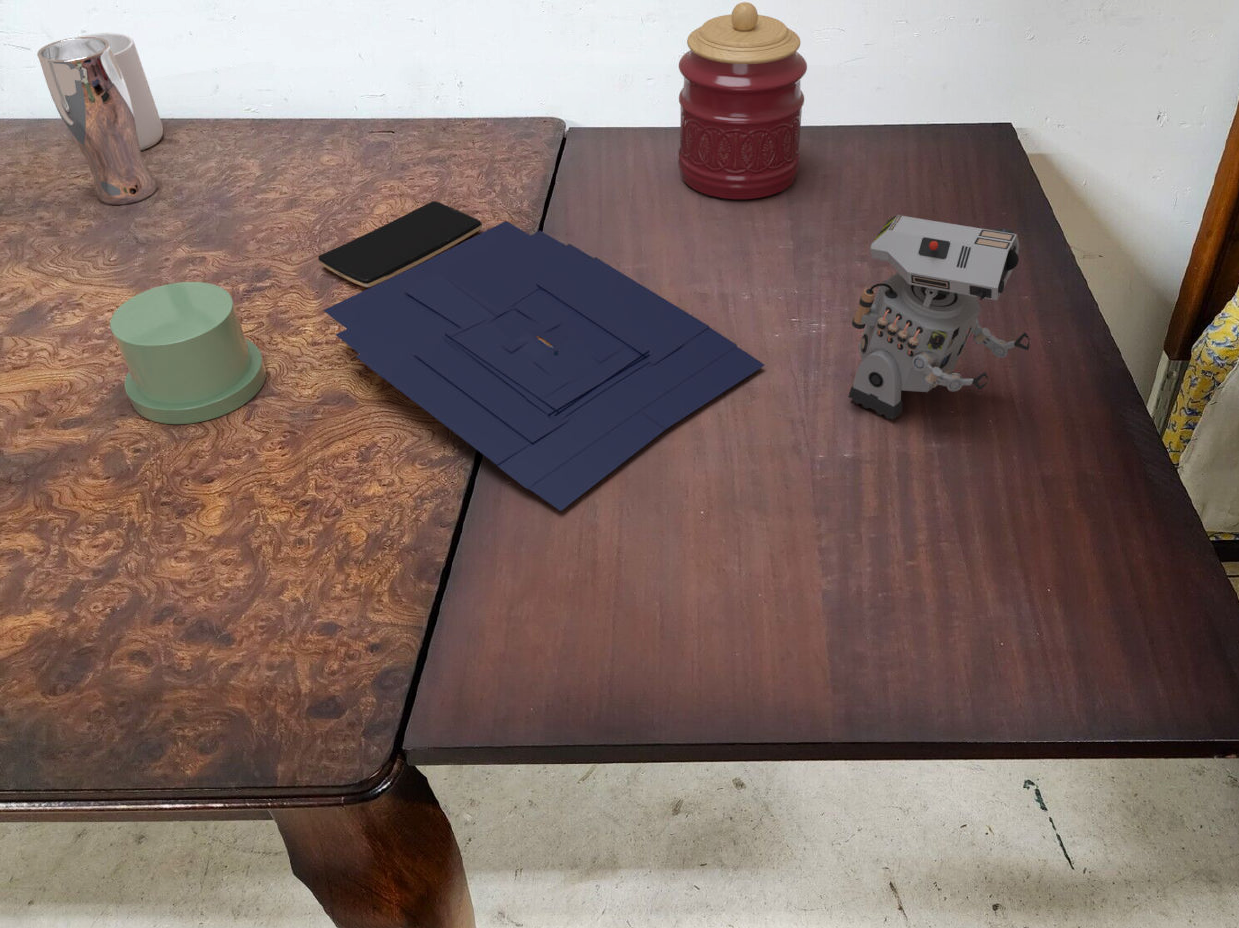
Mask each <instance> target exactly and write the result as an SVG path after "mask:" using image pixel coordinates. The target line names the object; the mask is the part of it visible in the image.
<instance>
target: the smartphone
mask: <svg viewBox="0 0 1239 928" xmlns="http://www.w3.org/2000/svg"><path fill="white" fill-rule="evenodd" d="M482 228H483V223H482V221H480V220H479V219H477V218H476V217H473V216H471V215H469V214H467V213H465V212H462V211H460V210H458V209H456V208H453V207H452V206H448V205H446V204H444V203H442V202H440V201H435V200H433V201H430V202H427V203H425V204H424V205H422V206H420V207H418V208H416V209H414V210H412V211H410V212H408V213H406V214H404V215H401V216H400V217H398V218H396V219H394V220H392V221H389V222H388V223H386V224H384V225H382V226H379V227H378V228H376V229H374V230H371V231H369V232H368V233H365V234H363V235H361V236H359V237H357V238H355V239H353V240H350V241H349V242H346V243H344V244H342V245H340V246H337V247H336V248H333V249H331V250H329V251H327V252H324V253H322V254H320V255H318V262H319V264H320V265H321V266H322V267H324V268H325V269H327V270H329V271H330V272H332V273H334V274H336V275H338V276H339V277H341V278H343V279H345V280H347V281H349V282H351V283H353V284H356V285H359V286H361V287H363V288H371V287H373V286H375V285H377V284H379V283H381V282H383V281H386V280H388V279H390V278H392V277H394V276H396V275H398V274H400V273H402V272H404V271H407V270H409V269H411V268H413V267H415V266H417V265H419V264H421V263H423V262H425V261H427V260H429V259H431V258H433V257H435V256H437V255H439V254H441V253H443V252H445V251H447V250H449V249H451V248H452V247H454V246H456V245H458V243H459V244H460V242H462V241H464V240H466V239H467V238H469V237H471V236H473V235H474V234H476V233H477V232H479V231H480V230H482Z"/></svg>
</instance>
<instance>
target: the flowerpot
mask: <svg viewBox="0 0 1239 928" xmlns="http://www.w3.org/2000/svg"><path fill="white" fill-rule="evenodd" d="M109 321H110V322H109V327H110V331H111V334H112V336H113V338H114V340H115V343H116V345H117V348H118V349H119V352H120V354H121V356H122V360H123V361H124V364H125V366H126V368H127V370H128V371H127V373H126V375H125V379H124V390H125V393H126V395H127V398H128V400H129V403H130V404H131V406H132V408H133V409H134V411H135V412H136V413H137V414H138V415H139V416H141V417H143V418H145V419H146V420H149V421H151V422H155V423H160V424H166V425H190V424H196V423H202V422H206V421H210V420H214V419H217V418H220V417H222V416H225V415H228V414H230V413H231V412H234V411H236V410H237V409H239V408H241V407H243V406H244V405H246V404H247V403H249V402H250V401H251V400H253V398H254V397H256V395H257V394H258V393H259V392H260V391H261V389H262V388H263V387H264V385H265V382H266V379H267V367H266V363H265V360H264V358H263V355H262V352H261V350H260V348H259V347H258V346H257V344H255V343H254V342H252V341H251V340H249V339H247V338H246V336H245V335H246V334H245V332H244V329H243V326H242V323H241V320H240V318H239V314H238V312H237V307H236V305H235V302H234V300H233V297H232V295H231V294H230V293H229V291H228V290H226V289H224V288H223V287H221V286H219V285H217V284H213V283H209V282H203V281H179V282H175V283H174V282H172V283H167V284H163V285H159V286H155V287H153V288H149V289H147V290H144V291H142V292H140V293H138V294H136V295H134V296H132V297H131V298H129V299H127V300H126V301H125V302H123V303H122V304H121V305H119V307H118V308H117V309H116V310H114V313H113V314H112V316H111V317H110V320H109Z"/></svg>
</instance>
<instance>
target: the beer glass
mask: <svg viewBox="0 0 1239 928" xmlns="http://www.w3.org/2000/svg"><path fill="white" fill-rule="evenodd" d="M76 37H77V38H74V37H69V38H64V39H60V40H57V41H53V42H50V43H48V44H46V45H44V46H42V47H41V48H39V50H38V51H37V53H36V54H37V55H36V56H37V58H38V60H39V64H40V67H41V69H42V73H43V76H44V79H45V83H46V86H47V89H48V91H49V94H50V96H51V98H52V101H53V104H54V106H55V108H56V111H57V112H58V114H59V116H60V118H61V120H62V121H63V123H64V125H65V127H66V128H67V130H68V131H69V133H70V135H71V137H72V138H73V140H74V141H75V143H76V145H77V146H78V148H79V150H80V151H81V154H82V155H83V157H84V158H85V161H86V163H87V165H88V167H89V170H90V172H91V176H92V181H93V186H94V191H95V195H96V199H98V201H100V202H101V203H103V204H106V205H112V206H114V205H115V206H119V205H120V206H122V205H129V204H134V203H138V202H140V201H143V200H145V199H147V198H149V197H151V196H152V195H153V194H154V193H155V192H156V191H157V188H158V184H157V181H156V179H155V178H154V176H153V175H152V172H151V171H150V169H149V167H148V166H147V164H146V161H145V160H144V157H143V154H142V151H141V150H140V147H139V142H138V137H137V131H136V124H135V119H134V113H133V108H132V104H131V99H130V96H129V93H128V89H127V86H126V83H125V81H124V78H123V76H122V73H121V71H120V68H119V66H118V64H117V61H116V59H115V57H114V55H113V53H112V50H111V48H110V46H109V43H108V41H106V40H104V39H101V38H97V37H78V36H76Z"/></svg>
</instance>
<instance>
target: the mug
mask: <svg viewBox="0 0 1239 928" xmlns="http://www.w3.org/2000/svg"><path fill="white" fill-rule="evenodd" d="M77 37H97V38H101V39H104V40H106V41H108V43H109V46H110V48H111V50H112V53H113V55H114V57H115V59H116V61H117V64H118V66H119V68H120V71H121V73H122V76H123V78H124V81H125V83H126V86H127V89H128V93H129V96H130V99H131V104H132V108H133V113H134V119H135V124H136V131H137V137H138V142H139V147H140V150H141V152H142V151H144V150H147V149H150V148H151V147H153V146H155V145H157V143H159V142H160V141H161V139H162V137H163V134H164V128H163V123H162V120H161V117H160V115H159V112H158V109H157V105H156V102H155V99H154V97H153V93H152V91H151V89H150V85H149V82H148V79H147V75H146V73H145V70H144V67H143V65H142V61H141V58H140V56H139V53H138V50H137V47H136V44H135V41H134V39H133V37H131V36H129V35H126V34H123V33H118V32H98V33H97V32H96V33H88V34H83V35H78V36H75V37H74V36H73V38H77Z"/></svg>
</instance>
